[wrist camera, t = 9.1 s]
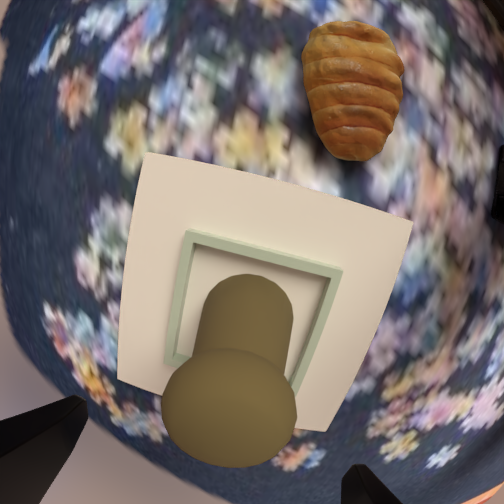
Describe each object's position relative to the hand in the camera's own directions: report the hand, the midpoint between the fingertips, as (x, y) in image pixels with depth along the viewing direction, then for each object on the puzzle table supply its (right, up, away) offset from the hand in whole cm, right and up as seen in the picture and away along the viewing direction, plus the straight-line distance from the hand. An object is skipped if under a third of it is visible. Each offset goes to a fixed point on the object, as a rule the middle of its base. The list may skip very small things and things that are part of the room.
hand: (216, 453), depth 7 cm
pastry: (+8, +17, +10) cm, 21 cm away
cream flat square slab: (+1, +2, +13) cm, 13 cm away
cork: (+1, +2, +12) cm, 12 cm away
